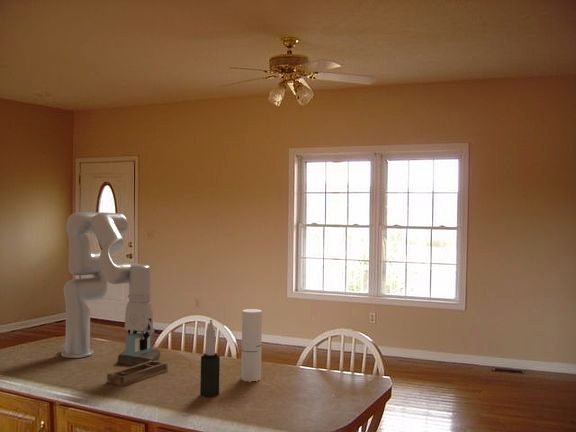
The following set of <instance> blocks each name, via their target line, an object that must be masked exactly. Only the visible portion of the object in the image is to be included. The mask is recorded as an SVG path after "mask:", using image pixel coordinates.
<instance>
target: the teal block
mask: <svg viewBox="0 0 576 432" xmlns="http://www.w3.org/2000/svg"><path fill="white" fill-rule="evenodd" d="M144 334H145V332H144ZM140 339H141V332H140V331H138V333H133V334H129V333H128V334H126V335H125V349H126V351H125V350H124V351H125V355H129V356H135V355H138V354H142V353H145V352H148V351H152V349H153V333H152V334H151V335H150V336H149V338H147V349H146V350H142V351H141V350H140Z"/></svg>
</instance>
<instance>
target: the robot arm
mask: <svg viewBox="0 0 576 432" xmlns="http://www.w3.org/2000/svg"><path fill="white" fill-rule="evenodd" d="M65 226H66V234H67V237H68V271H69V273H70V275H73V276H91V275H92V277H81V278H73V279H70V280H68V281H66V283H65V284H64V286H63V296H64V302H65V303H64V304H65V342H63V343H62V344H61V345H60V347H61V348H63V351H61V354H60V356H61V357H62V358H67V359H80V358H86V357H90V356H92V355H93V354H94V350H93V348H90V347H91V346H90V345H91V340H90V339H91V311H90V308H89V306H88V305H87V304H86V302H89V301H96V300H101V299H103V298H104V297H105V296H106V295H107V291H108V283H109V284H110V285H120V284H121V285H122V284H128V295H127V298H128V301H127V304H126V307H125V316H124V330H125V331H127V333H128V335H129V334H133V333H138V332H141V339H140V350H141V351H142V350H146V349H147V338H149V336H150V335H151V334H152V335H153V334H154V333H155V328H154V314H153V306H152V302H151V285H152V284H151V281H152V279H151V278H152V277H151V272H152V271H151V269H152V268H151V267H150V265H148V264H141V263H138V262H124V263H123V262H121V263H114V262H113V260H112V257H111V256H112V255H114V254H116V253H117V252H119V251H120V250H121V249H122V248H123V247H124V245H125V240H124V238H123V236H122V234H125V233H126V232H127V230H128V229H129V222H128V219H127V218H126V215H125V214H123V213H119V212H101V211H100V212H99V211H98V212H96V211H95V212H93V211H87V212H86V211H84V212H83V211H79V212H75V213H72V214H70V215H69V216H68V217H67V221H66V225H65ZM88 233H89V234H94V235H95V237H96V239H97V241H98V243H99V244H100V247H101V248H102V249H101V251H92V249H91V248H92V242H91V240H90V237H89V236H88V235H87V234H88ZM144 332H145V334H144Z"/></svg>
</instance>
